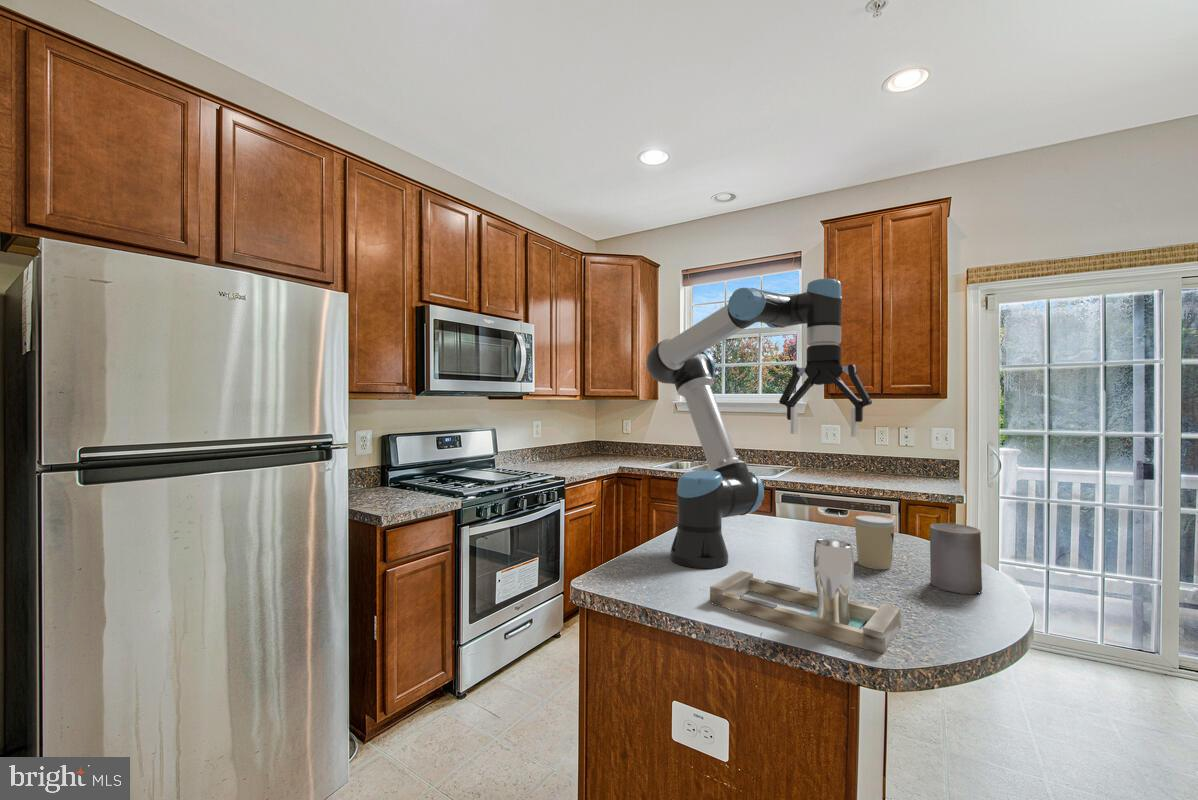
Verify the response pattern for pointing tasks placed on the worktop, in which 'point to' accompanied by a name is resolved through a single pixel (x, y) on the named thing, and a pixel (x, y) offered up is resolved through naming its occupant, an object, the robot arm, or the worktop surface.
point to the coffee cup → (874, 541)
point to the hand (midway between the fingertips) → (823, 435)
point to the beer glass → (833, 579)
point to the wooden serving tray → (872, 636)
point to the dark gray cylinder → (955, 558)
